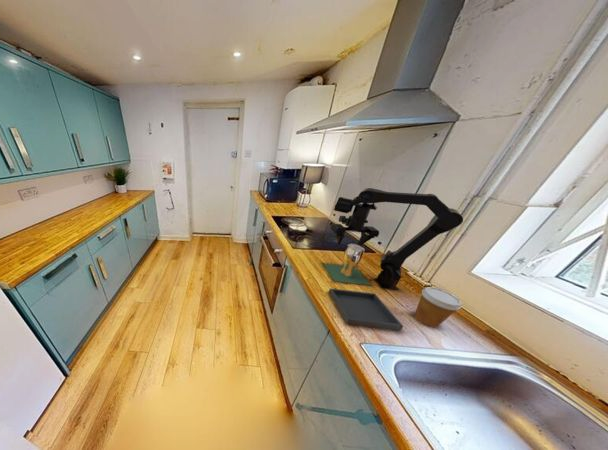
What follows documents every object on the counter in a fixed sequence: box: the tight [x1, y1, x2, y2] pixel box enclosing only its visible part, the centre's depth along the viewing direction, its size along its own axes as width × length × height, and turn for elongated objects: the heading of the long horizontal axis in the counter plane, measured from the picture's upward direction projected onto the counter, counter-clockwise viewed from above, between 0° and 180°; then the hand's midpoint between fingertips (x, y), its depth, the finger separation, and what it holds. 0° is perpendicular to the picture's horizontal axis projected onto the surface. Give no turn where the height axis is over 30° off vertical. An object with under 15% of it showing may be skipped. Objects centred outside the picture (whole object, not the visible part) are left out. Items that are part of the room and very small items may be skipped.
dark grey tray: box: [327, 288, 404, 332], centre depth 76 cm, size 18×16×2 cm
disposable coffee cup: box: [413, 286, 463, 328], centre depth 71 cm, size 10×10×12 cm
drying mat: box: [322, 263, 373, 287], centre depth 97 cm, size 16×14×1 cm
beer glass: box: [339, 243, 366, 277], centre depth 93 cm, size 7×7×15 cm
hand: (348, 245), depth 96 cm, fingers open, 9 cm apart
